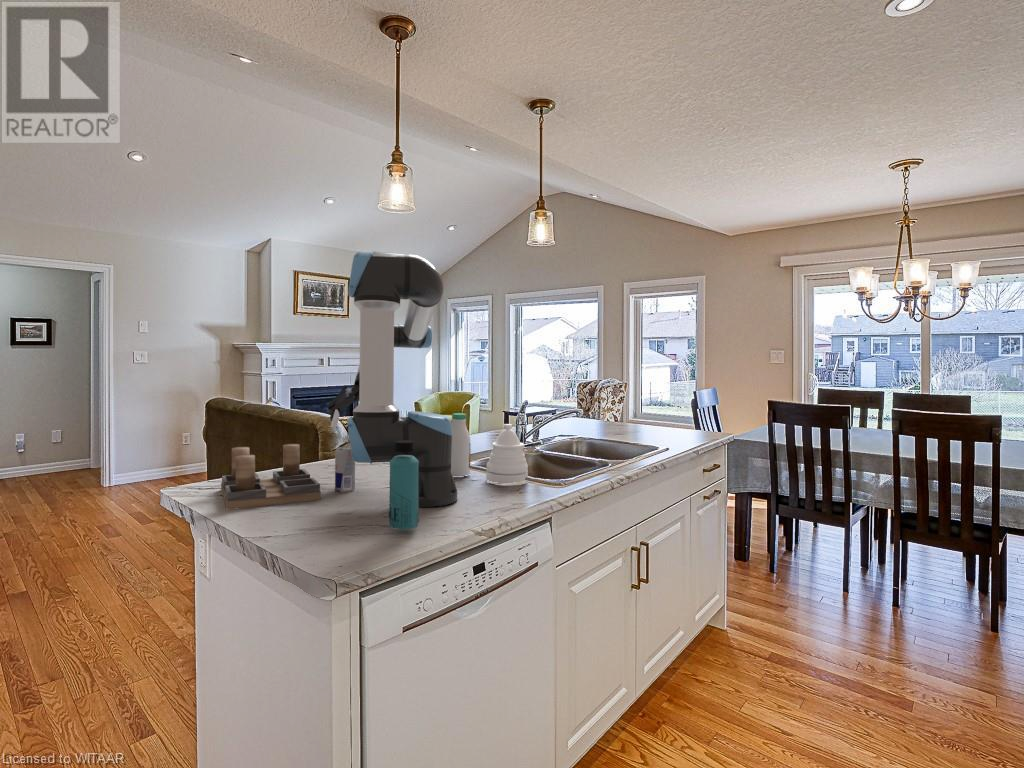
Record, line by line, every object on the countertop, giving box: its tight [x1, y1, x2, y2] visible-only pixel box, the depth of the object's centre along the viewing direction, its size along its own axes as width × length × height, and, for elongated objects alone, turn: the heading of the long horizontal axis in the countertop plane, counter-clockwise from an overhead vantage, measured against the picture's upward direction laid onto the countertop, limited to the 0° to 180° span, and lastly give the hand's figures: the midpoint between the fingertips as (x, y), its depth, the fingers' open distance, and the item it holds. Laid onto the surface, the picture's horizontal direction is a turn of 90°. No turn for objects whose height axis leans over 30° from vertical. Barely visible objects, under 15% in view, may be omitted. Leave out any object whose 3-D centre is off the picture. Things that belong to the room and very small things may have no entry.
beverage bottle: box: [388, 440, 420, 530], centre depth 119 cm, size 6×7×20 cm
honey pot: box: [485, 423, 529, 483], centre depth 170 cm, size 13×13×18 cm
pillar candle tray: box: [220, 443, 322, 510], centre depth 148 cm, size 22×22×12 cm
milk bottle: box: [451, 412, 472, 476], centre depth 176 cm, size 8×8×20 cm
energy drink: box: [334, 446, 356, 493], centre depth 154 cm, size 5×5×12 cm
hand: (355, 429), depth 164 cm, fingers open, 13 cm apart
